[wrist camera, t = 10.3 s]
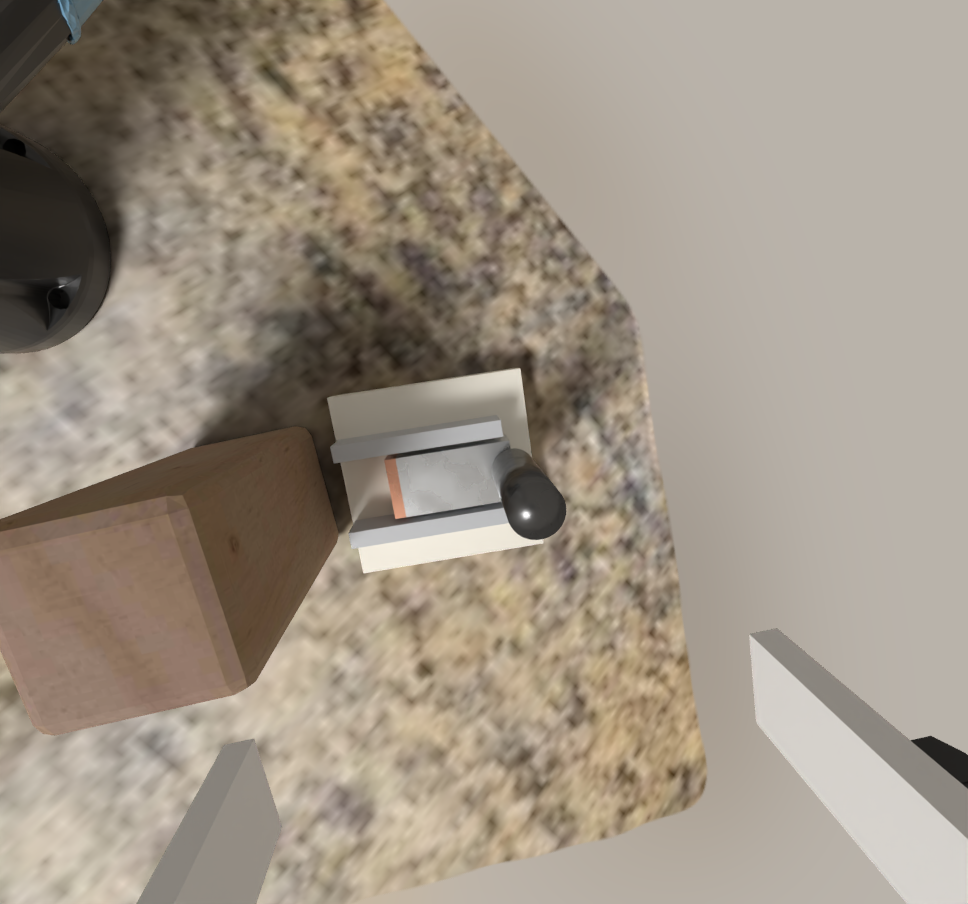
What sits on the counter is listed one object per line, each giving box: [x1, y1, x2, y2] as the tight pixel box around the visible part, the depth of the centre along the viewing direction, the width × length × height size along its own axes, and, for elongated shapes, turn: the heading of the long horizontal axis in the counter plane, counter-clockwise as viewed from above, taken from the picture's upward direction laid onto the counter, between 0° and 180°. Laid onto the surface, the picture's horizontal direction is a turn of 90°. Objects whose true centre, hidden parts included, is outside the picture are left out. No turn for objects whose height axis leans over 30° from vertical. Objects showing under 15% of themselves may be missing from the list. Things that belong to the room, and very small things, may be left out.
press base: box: [327, 368, 544, 573], centre depth 40 cm, size 14×14×5 cm
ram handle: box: [384, 435, 566, 540], centre depth 34 cm, size 4×11×12 cm, turn 99°
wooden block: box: [0, 426, 338, 735], centre depth 32 cm, size 10×10×20 cm
